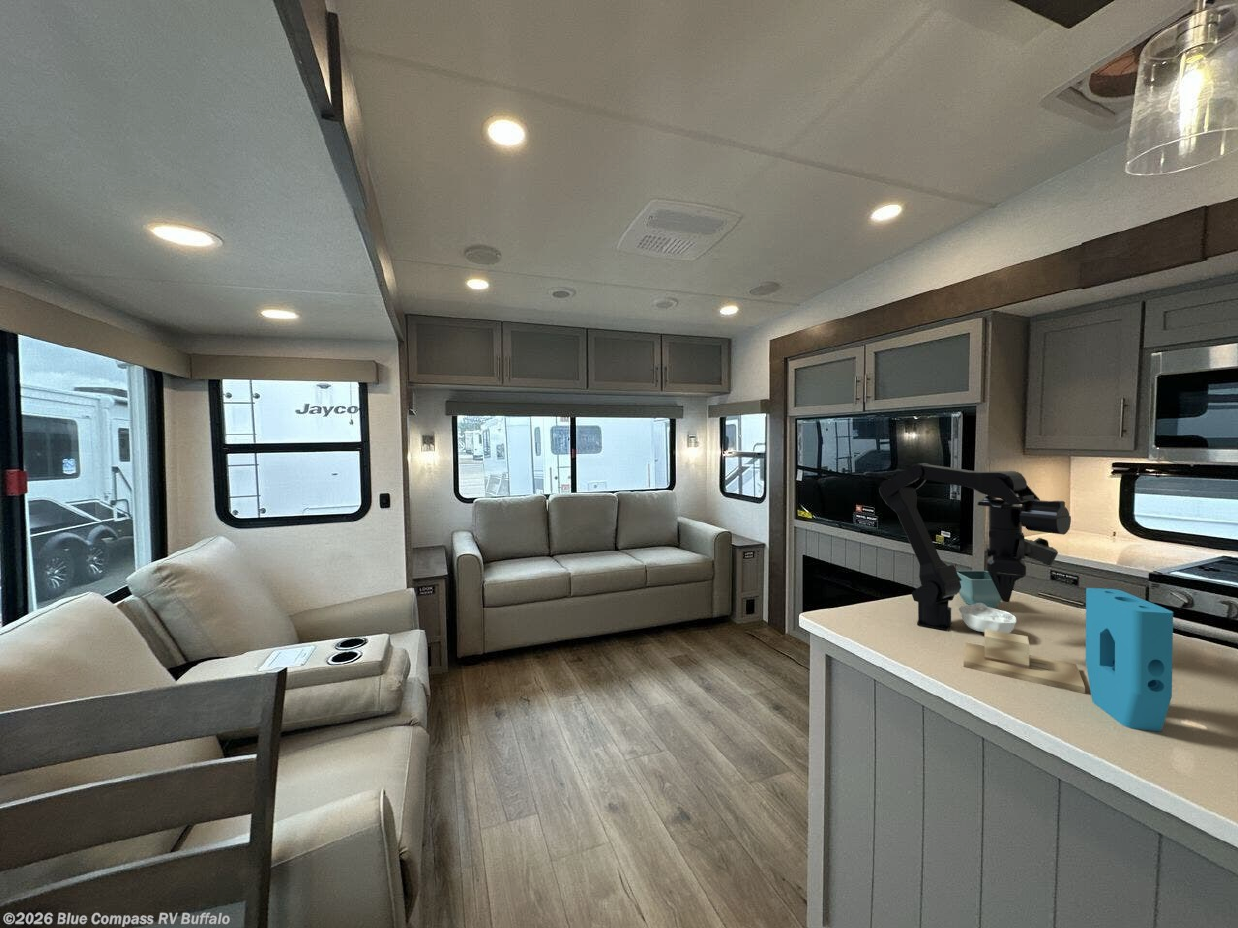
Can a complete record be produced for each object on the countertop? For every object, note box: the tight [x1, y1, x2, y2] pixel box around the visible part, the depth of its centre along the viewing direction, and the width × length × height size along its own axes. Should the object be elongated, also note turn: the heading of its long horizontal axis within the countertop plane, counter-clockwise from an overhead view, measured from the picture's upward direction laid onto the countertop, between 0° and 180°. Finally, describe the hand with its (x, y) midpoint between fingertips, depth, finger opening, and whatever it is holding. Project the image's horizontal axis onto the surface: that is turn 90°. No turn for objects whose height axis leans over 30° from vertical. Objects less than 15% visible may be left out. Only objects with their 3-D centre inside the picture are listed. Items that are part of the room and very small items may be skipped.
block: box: [1085, 587, 1174, 732], centre depth 78 cm, size 12×5×20 cm, turn 164°
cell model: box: [958, 603, 1018, 633], centre depth 112 cm, size 10×12×7 cm
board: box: [963, 642, 1086, 694], centre depth 95 cm, size 18×11×1 cm, turn 51°
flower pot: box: [956, 570, 1002, 609], centre depth 129 cm, size 9×9×9 cm
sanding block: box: [984, 629, 1030, 669], centre depth 96 cm, size 7×4×5 cm, turn 51°
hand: (1005, 595), depth 103 cm, fingers open, 9 cm apart
